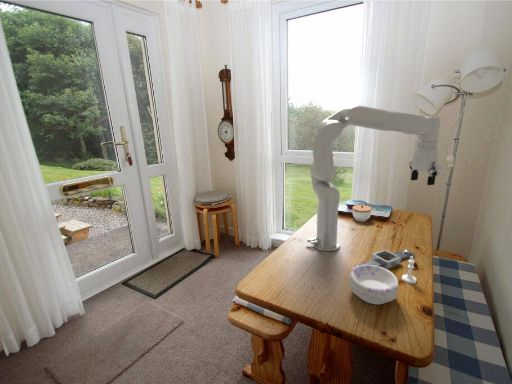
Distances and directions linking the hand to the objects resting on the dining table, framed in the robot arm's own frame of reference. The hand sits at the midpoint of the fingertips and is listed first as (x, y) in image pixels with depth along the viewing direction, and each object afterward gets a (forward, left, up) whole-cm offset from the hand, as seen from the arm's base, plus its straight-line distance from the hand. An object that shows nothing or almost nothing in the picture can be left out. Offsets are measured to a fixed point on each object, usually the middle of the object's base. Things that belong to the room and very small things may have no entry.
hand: (422, 182), depth 118 cm
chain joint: (-24, -16, -30) cm, 41 cm away
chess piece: (-22, -29, -30) cm, 47 cm away
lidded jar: (-13, +31, -30) cm, 45 cm away
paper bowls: (-40, -36, -30) cm, 61 cm away
